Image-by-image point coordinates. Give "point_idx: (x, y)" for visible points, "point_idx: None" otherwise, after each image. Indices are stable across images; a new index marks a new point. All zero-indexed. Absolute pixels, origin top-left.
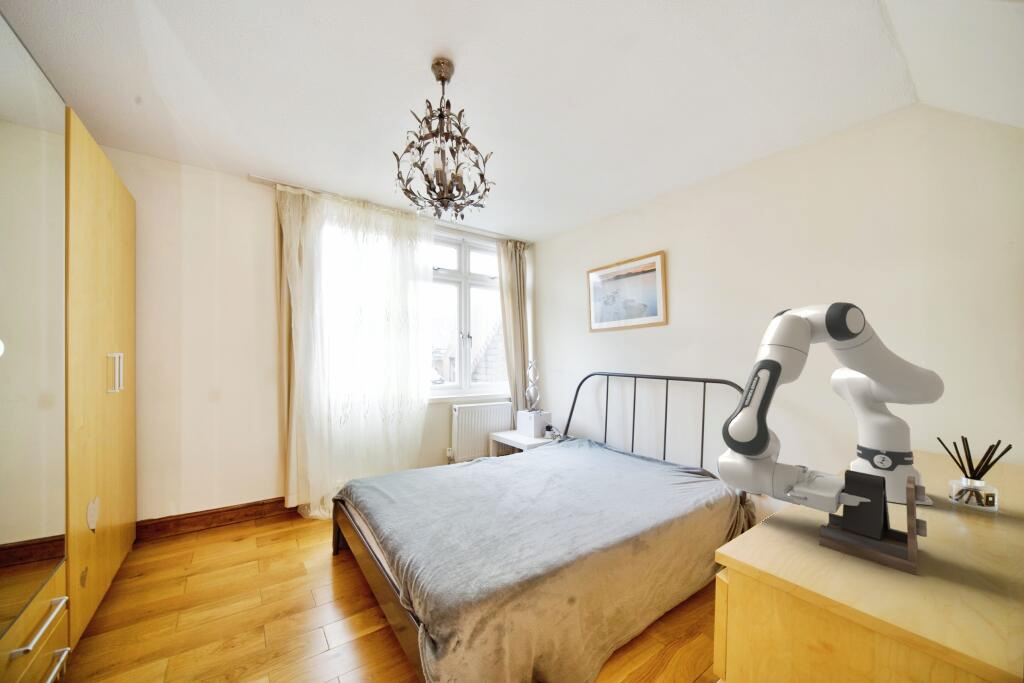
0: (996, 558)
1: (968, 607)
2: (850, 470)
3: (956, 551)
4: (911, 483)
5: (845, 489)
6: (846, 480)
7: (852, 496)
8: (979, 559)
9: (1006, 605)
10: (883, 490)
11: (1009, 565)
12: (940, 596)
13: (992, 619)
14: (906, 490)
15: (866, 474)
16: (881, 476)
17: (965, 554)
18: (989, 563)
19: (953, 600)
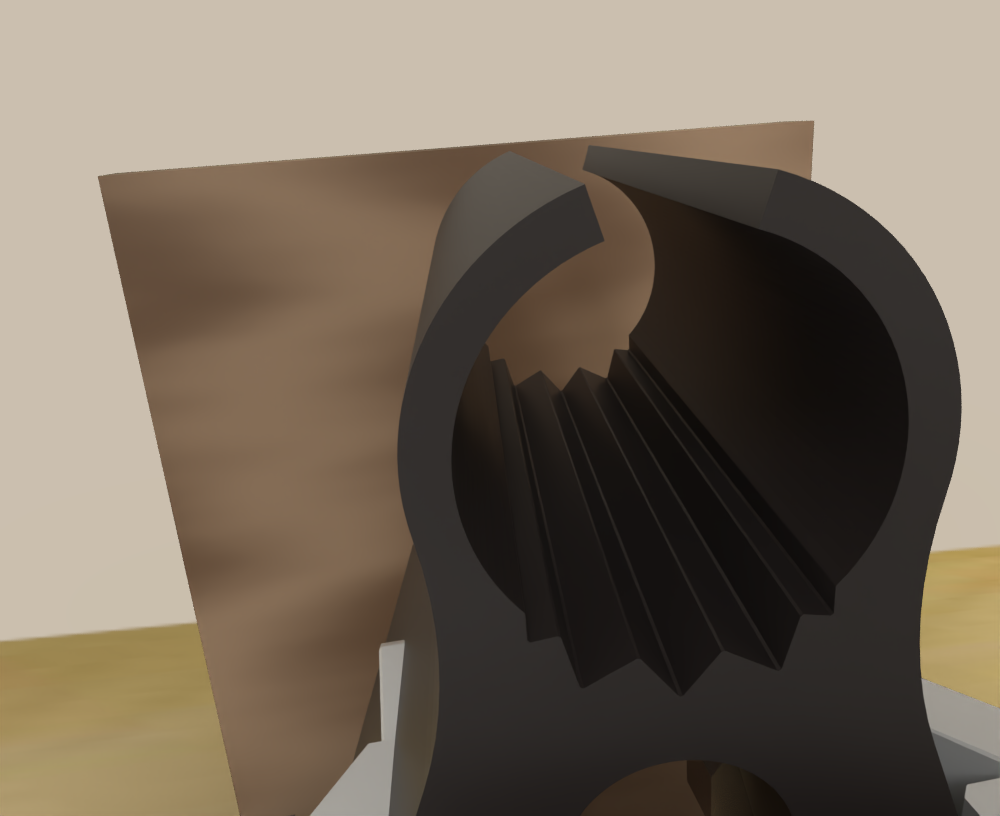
0: (12, 677)
1: (938, 628)
2: (568, 182)
3: (22, 786)
4: (561, 139)
5: (940, 780)
6: (902, 509)
7: (997, 713)
8: (104, 707)
9: None
10: (616, 357)
11: (100, 642)
12: (982, 691)
13: (936, 584)
14: (808, 164)
15: (633, 152)
16: (507, 153)
17: (54, 752)
18: (142, 679)
19: (945, 661)
